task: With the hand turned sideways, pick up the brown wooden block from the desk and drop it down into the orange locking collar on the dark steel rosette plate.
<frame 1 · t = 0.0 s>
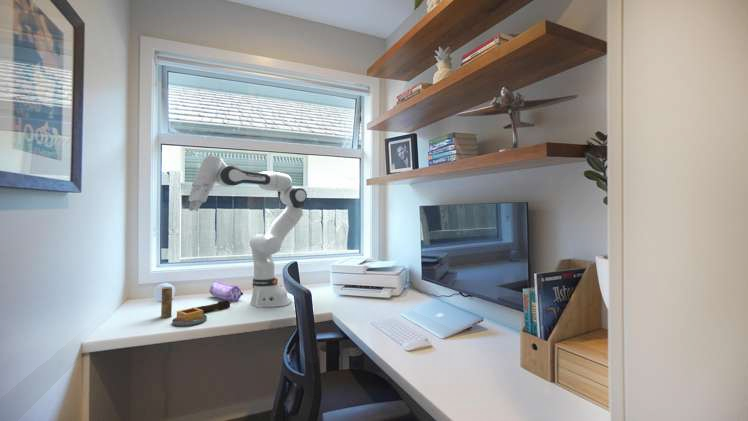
hand: (192, 210, 161), 52 cm above the table, tool tilted 20°, fingers open, 8 cm apart
hand tool: (211, 311, 169), on the table
pencil case: (225, 299, 193), on the table
brown wooden block: (166, 316, 158), on the table
collar base: (189, 321, 152), on the table
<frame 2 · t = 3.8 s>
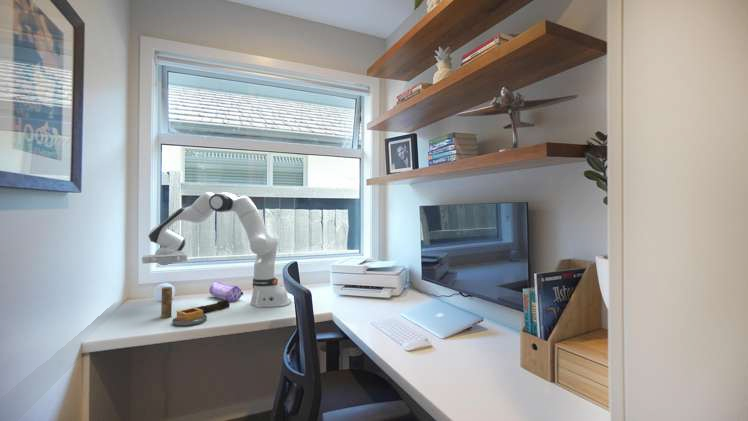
hand: (166, 260, 168), 26 cm above the table, tool horizontal, fingers open, 8 cm apart
nothing on the table moved.
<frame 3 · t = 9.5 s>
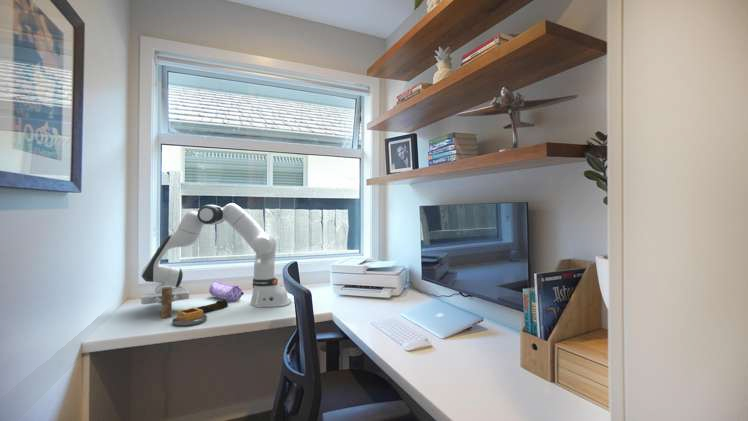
hand: (166, 300, 158), 8 cm above the table, tool horizontal, fingers closed on brown wooden block, 4 cm apart
brown wooden block: (166, 316, 158), on the table, touching gripper
when the fingers open (11 cm above the table, at t = 16.5 s): brown wooden block drops 1 cm, resting on collar base.
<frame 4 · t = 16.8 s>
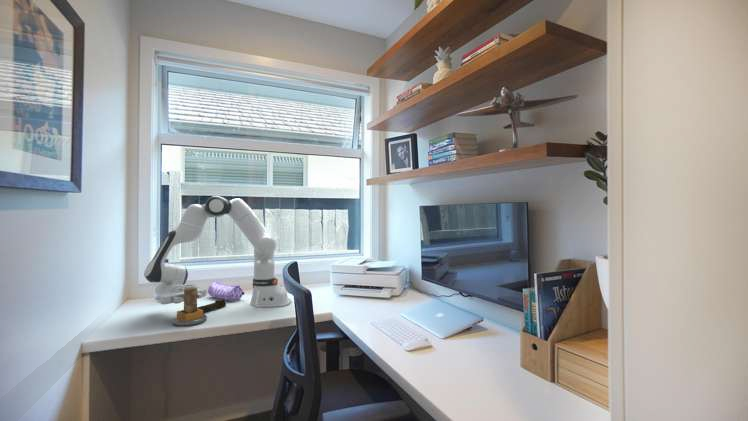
hand: (191, 298, 151), 11 cm above the table, tool horizontal, fingers open, 7 cm apart
brown wooden block: (190, 318, 152), point 2 cm above the table, touching collar base
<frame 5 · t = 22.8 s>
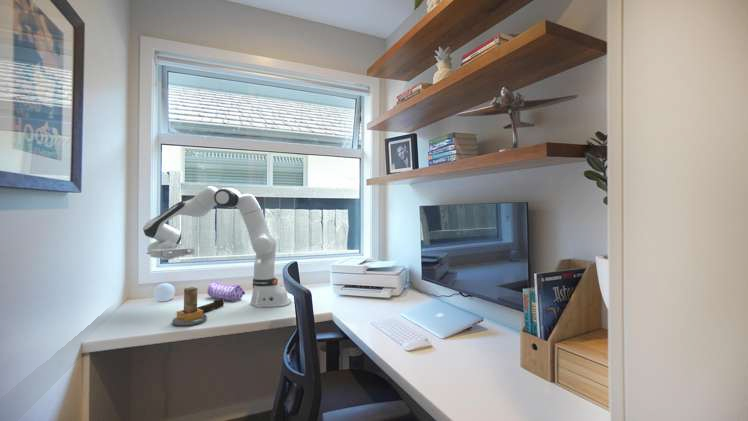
hand: (180, 253, 166), 30 cm above the table, tool horizontal, fingers open, 8 cm apart
at the end: brown wooden block 0.1 cm off-centre on the collar base, point 1.5 cm above the collar base's base; brown wooden block tilted 0°; the gripper is holding nothing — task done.
